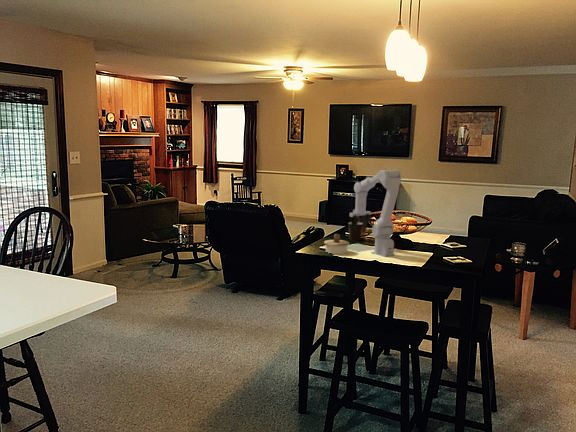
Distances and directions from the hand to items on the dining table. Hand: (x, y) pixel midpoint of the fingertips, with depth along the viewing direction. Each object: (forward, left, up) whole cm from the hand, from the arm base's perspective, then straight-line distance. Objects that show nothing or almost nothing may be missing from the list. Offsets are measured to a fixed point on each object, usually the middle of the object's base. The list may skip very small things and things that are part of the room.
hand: (359, 228), depth 272 cm
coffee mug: (+14, -12, -10) cm, 21 cm away
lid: (-4, +21, -5) cm, 22 cm away
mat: (-3, +4, -10) cm, 11 cm away
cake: (+27, -26, -10) cm, 39 cm away
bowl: (-4, +21, -10) cm, 23 cm away
